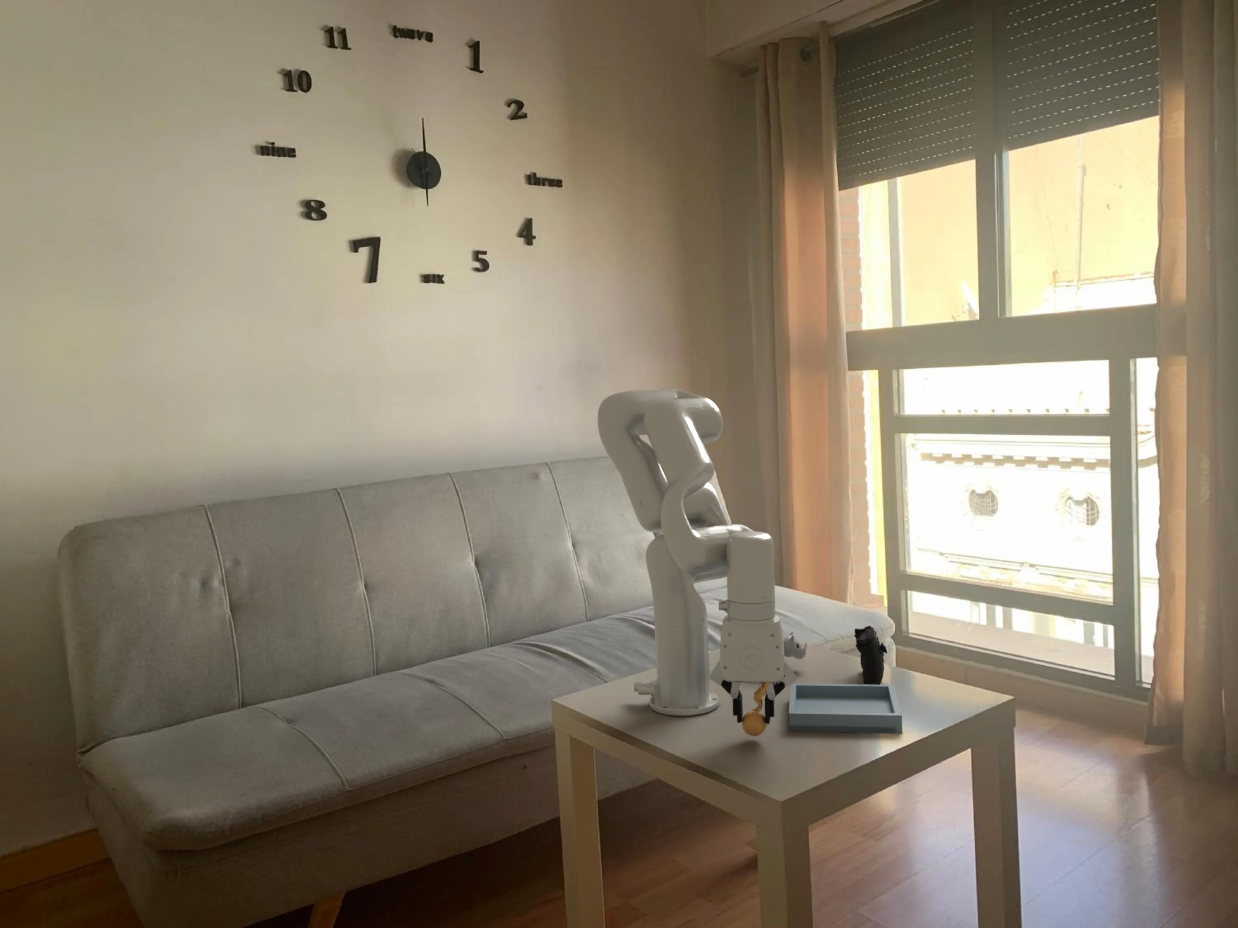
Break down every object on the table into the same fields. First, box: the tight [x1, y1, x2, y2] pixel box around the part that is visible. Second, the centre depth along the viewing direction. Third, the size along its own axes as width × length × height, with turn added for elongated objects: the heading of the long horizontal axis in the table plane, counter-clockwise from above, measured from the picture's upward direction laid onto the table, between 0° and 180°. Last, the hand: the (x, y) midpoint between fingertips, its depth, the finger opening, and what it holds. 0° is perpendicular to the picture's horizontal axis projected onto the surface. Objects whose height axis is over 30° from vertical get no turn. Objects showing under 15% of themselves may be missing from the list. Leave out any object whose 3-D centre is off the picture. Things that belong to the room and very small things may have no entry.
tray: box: [788, 683, 903, 734], centre depth 166 cm, size 18×16×3 cm
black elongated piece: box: [853, 625, 888, 685], centre depth 184 cm, size 14×6×10 cm, turn 168°
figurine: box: [741, 681, 770, 737], centre depth 156 cm, size 8×6×12 cm
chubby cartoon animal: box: [783, 631, 808, 660], centre depth 194 cm, size 7×12×8 cm, turn 84°
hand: (753, 719), depth 157 cm, fingers closed on figurine, 3 cm apart
